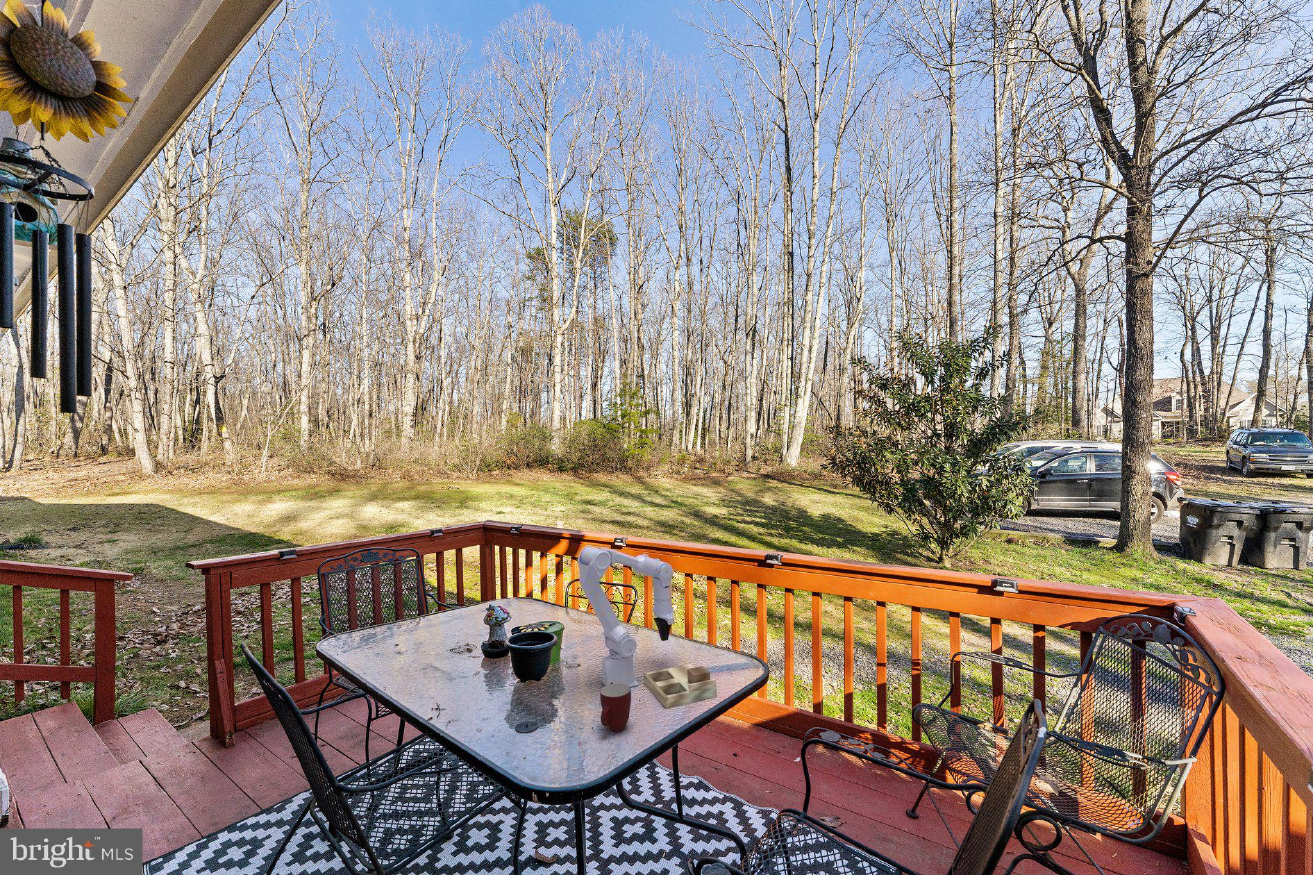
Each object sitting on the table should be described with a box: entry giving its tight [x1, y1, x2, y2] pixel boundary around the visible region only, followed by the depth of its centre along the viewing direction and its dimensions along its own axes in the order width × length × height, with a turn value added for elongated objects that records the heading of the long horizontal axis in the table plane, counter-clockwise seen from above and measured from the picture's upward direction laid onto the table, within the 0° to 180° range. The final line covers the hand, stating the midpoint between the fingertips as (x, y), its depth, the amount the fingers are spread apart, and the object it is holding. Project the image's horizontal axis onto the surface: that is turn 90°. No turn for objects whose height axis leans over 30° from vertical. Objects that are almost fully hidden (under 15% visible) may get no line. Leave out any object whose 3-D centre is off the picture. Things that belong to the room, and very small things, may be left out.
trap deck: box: [643, 663, 718, 710], centre depth 169 cm, size 16×18×5 cm
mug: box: [599, 683, 632, 732], centre depth 148 cm, size 10×8×10 cm
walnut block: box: [687, 665, 711, 684], centre depth 166 cm, size 5×5×4 cm
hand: (664, 639), depth 185 cm, fingers closed
